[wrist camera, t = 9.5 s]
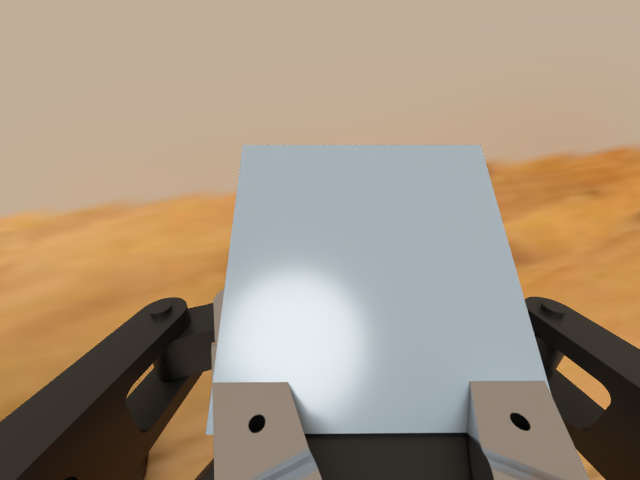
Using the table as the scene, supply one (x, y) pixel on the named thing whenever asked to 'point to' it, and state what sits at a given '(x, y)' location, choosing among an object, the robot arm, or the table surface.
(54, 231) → the table surface
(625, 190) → the table surface
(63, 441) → the robot arm
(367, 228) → the grey lidded pillar
